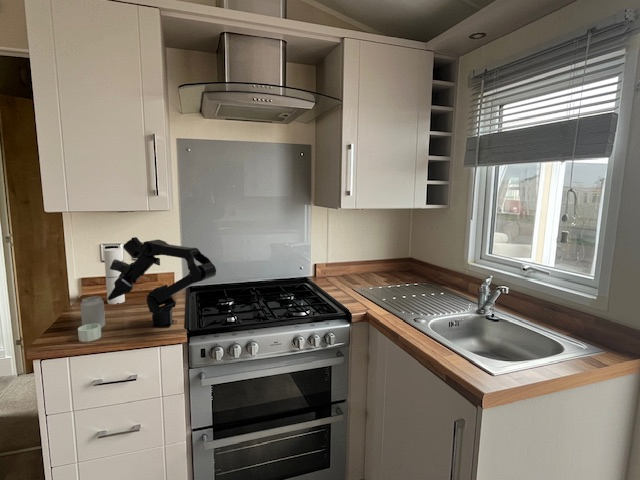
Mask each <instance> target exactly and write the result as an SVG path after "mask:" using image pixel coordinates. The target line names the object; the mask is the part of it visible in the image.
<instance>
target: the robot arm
mask: <svg viewBox="0 0 640 480" xmlns="http://www.w3.org/2000/svg"><path fill="white" fill-rule="evenodd" d="M122 247H123V249H124V251H126V253H127V254H128V255H129V256H130V257H131V258H132V259H136V260H135V261H133V262H131V263H127V262H125V261H123V260H122V261H119V260H116V259H114V260H113V262H112V264H111V267H110V269H111V270H116V271H119V272H121V273H120V275H119V276H120V277H119V278H118V279H117V280H116V281H115V282H114V284H115V288H114V289H113V290H112V292H111V294H110V295H109V297H108V300H112V299H114V298H116V297H118V296H121V295H123V294H130V292H131V291H132V290H133V289H134V284H136V283H137V282H138V280H139V279H140V278H141V277H143V276H144V275H145V273H146V272H147V271H148V270H149V269H150V268H151V267H152V266H153V265H155V266H156V265H157V266H161V262H160V260H161V258H160V257H156V256H167V257H175V258H180V259H185V261H186V265H187V269H188V270H189V272H188V274H187V275H186V276H184V277H182V278H180V279H179V280H177V281H175V282H174V283H172V284H169V286H168V284H165V285H161V286H158V287H156V288H154V289H152V290H151V291H148V294H147V295H146V303H147V307H148V311H149V312H150V313H152V314H151V315H152V317H151V320H152V322H151V323H152V326H151V327H152V328H156V329H157V328H170V327H171V326H172V324H173V323H174V322H175V320H174V319H173V309H174V308H176V305H177V302H176V300H175V299H174V296H175V295H177V294H178V293H180V292H182V291H184V290H186V289H188V288H189V287H191V286H193V285H194V284H196V283H197V284H198V283H200V282H203V281H205V280H209V279H211V278H214V277H215V276H216V275H217V268H216V266H215V264H213V262H212V261H211V259H209V258H208V257H207V256H206V255H204V254H203V253H202V252H201V251H200V250H199V248H197V247H189V246H182V245H176V244H175V245H174V244H169V243H168V242H167V241H164V240H161V239H152V240H146V241H144V242H143V243H142V242H141V241H140V240H139V238H138V237H137V236H134V237H133V236H132V237H131V239H129V240H128V241H125V243H124V244H123V246H122ZM196 262H198V263H199V265H197V263H196Z"/></svg>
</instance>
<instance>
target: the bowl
mask: <svg viewBox="0 0 640 480" xmlns="http://www.w3.org/2000/svg"><path fill="white" fill-rule="evenodd" d="M77 332H78V333H77V334H78V341H79V342H82V343H85V342H93V341H96V340H98V339H100V338H101V337H102V329H101V326H100V324H97V323H94V324H86V325H83V326H82V325H81V326H79V327H77Z"/></svg>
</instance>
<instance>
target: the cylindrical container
mask: <svg viewBox="0 0 640 480" xmlns="http://www.w3.org/2000/svg"><path fill="white" fill-rule="evenodd" d="M103 255H104V256H103V257H104V258H103V259H104V271H105V272H104V273H105V283H106V295H107V296H106V297H107V299H106V300H107V301H106V302H107V304H109V305H117V303H119V304H122V303H125V301H126V298H125V296H126V295H125V294H123V295H121V296H118V297H116V298H114V299H112V300H108V297H109V295H110V294H111V292H112V290H113V289H114V288H115V284H114V282H115V281H116V280H117V279H118V278H119V277H120V276H119V275H120V273H121V272H119V271H116V270H111V269H110V267H111V264H112V262H113V260H114V259H116V260H119V261H122V262H123V249H122V248H119V247H116V248H115V247H113V248H111V247H110V248H104V250H103Z"/></svg>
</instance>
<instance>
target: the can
mask: <svg viewBox="0 0 640 480" xmlns="http://www.w3.org/2000/svg"><path fill="white" fill-rule="evenodd" d="M79 306H80V317H81V326H83V325H86V324H94V323H97V324H100V326H101V330H102V329H103V328H104V326H106V316H105V304H104V300H103V299H102V297H101V296H99V295H93V296H88V297H84V298H82V299H81V302H80V304H79Z"/></svg>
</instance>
